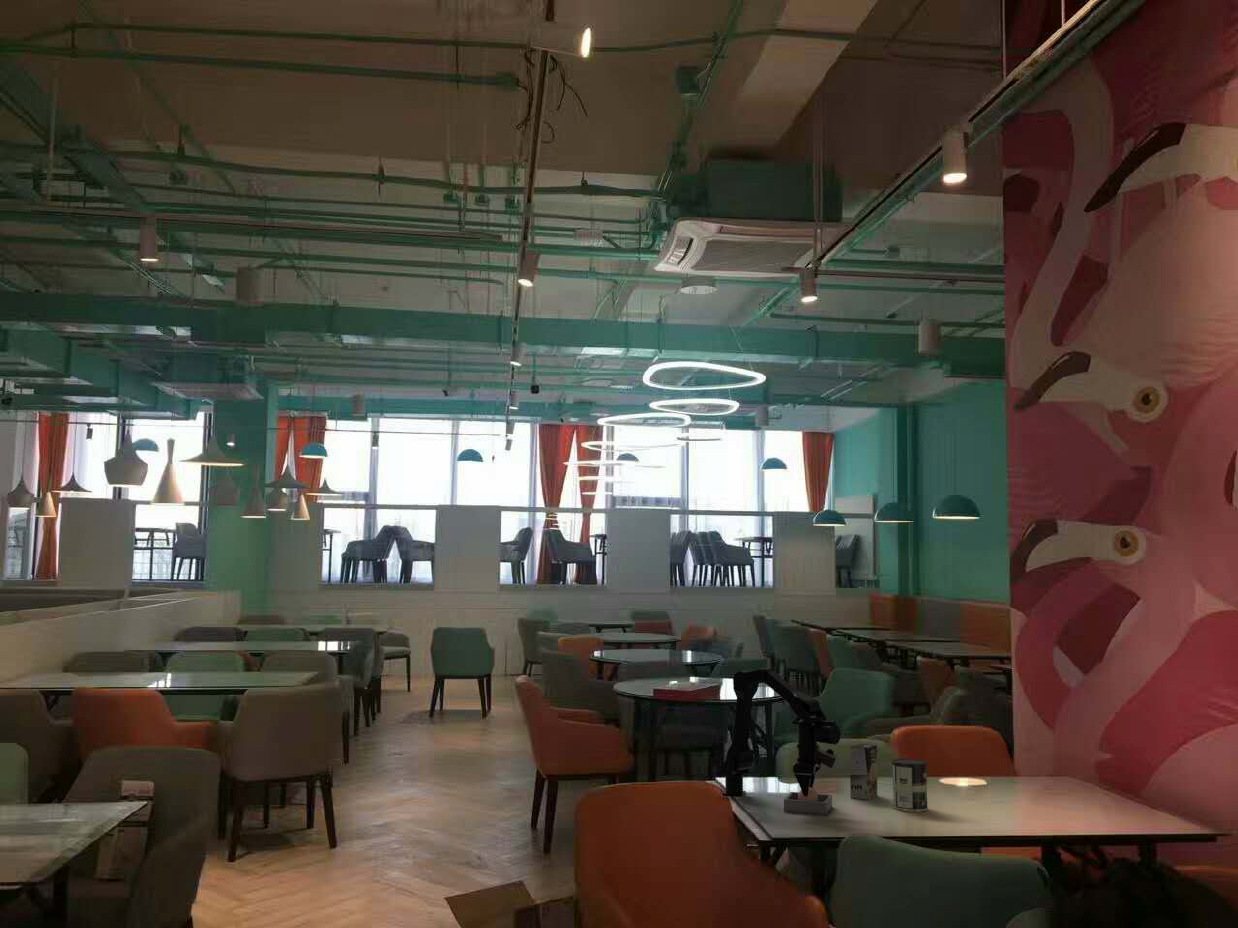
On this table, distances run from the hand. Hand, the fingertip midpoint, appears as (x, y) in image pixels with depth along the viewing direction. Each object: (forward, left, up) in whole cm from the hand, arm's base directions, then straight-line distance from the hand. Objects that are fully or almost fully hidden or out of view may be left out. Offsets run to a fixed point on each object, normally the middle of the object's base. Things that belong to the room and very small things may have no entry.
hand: (808, 793), depth 306 cm
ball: (0, 0, -1) cm, 1 cm away
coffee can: (-13, +29, -5) cm, 32 cm away
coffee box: (-26, +14, -5) cm, 30 cm away
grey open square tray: (0, 0, -5) cm, 5 cm away
